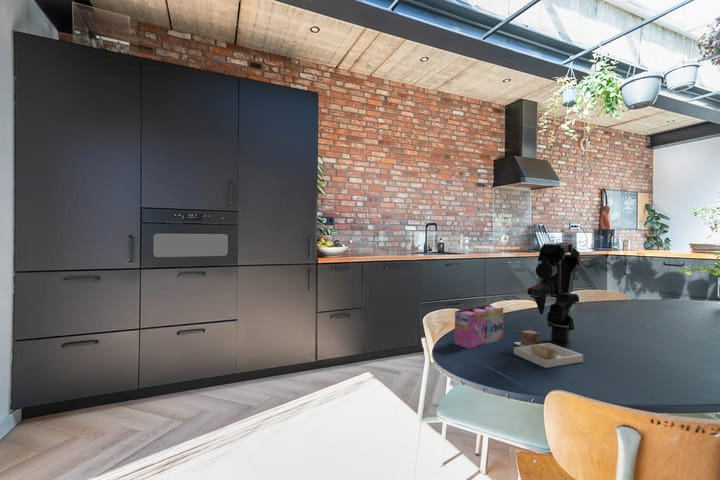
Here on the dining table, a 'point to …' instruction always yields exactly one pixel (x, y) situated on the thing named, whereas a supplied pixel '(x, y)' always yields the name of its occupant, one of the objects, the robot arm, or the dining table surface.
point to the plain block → (544, 352)
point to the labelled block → (530, 338)
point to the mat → (519, 343)
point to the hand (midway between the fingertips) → (551, 316)
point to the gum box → (478, 326)
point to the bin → (562, 359)
